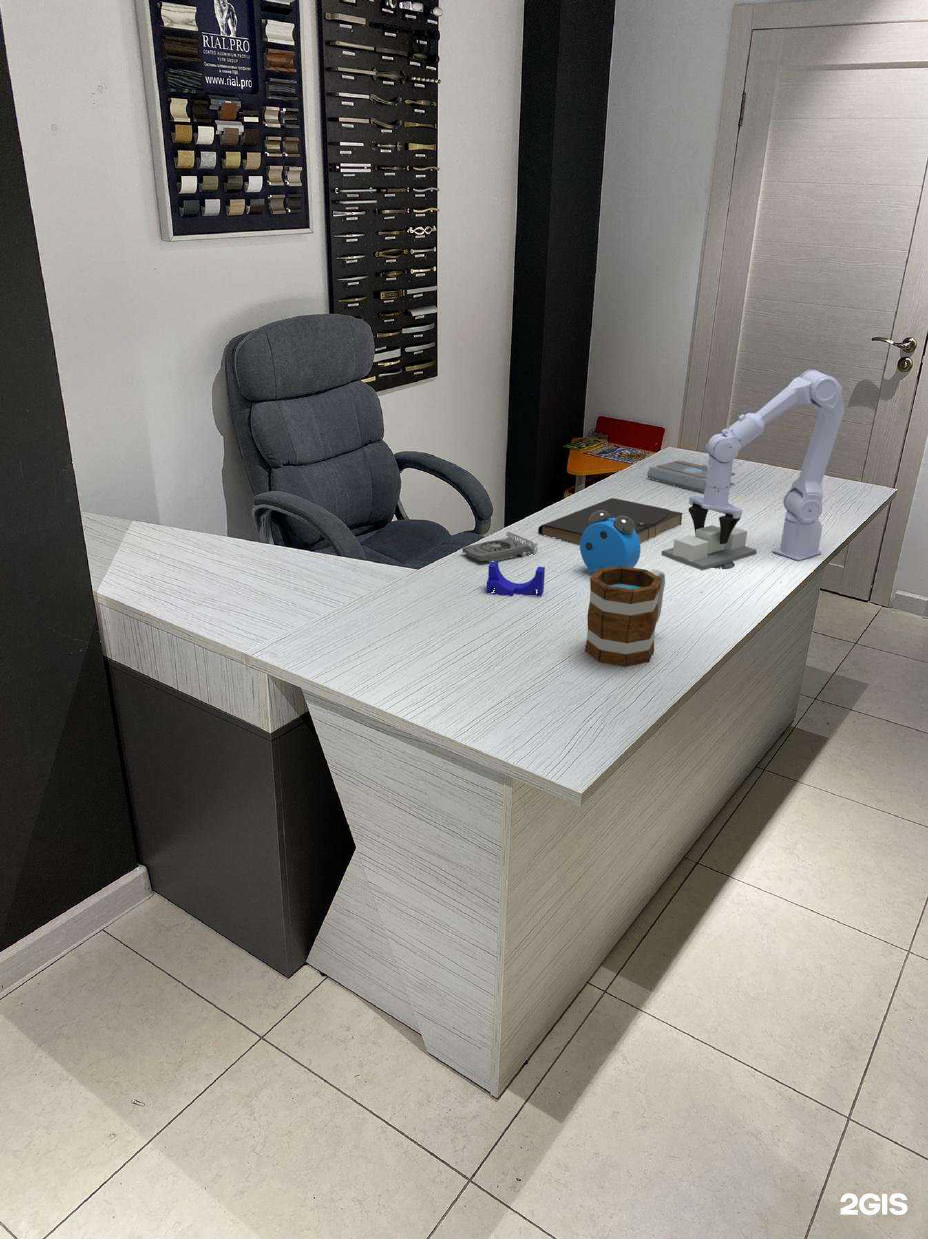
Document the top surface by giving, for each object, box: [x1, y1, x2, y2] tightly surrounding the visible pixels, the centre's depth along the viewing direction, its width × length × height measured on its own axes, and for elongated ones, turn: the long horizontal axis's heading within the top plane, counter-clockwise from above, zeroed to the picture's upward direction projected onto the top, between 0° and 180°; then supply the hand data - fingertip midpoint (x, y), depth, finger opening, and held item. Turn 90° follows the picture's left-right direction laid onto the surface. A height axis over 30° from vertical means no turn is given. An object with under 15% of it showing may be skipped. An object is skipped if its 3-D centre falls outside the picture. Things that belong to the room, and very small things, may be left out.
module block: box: [694, 524, 725, 554], centre depth 234 cm, size 6×4×5 cm
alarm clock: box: [579, 510, 641, 574], centre depth 218 cm, size 13×6×15 cm, turn 47°
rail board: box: [661, 545, 758, 571], centre depth 235 cm, size 20×13×1 cm, turn 127°
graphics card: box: [462, 531, 539, 563], centre depth 233 cm, size 17×4×12 cm
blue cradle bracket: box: [485, 561, 546, 598], centre depth 209 cm, size 12×4×6 cm, turn 76°
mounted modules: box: [672, 526, 748, 562], centre depth 234 cm, size 20×6×4 cm, turn 127°
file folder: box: [537, 497, 684, 546], centre depth 252 cm, size 33×4×24 cm
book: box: [646, 459, 736, 495], centre depth 295 cm, size 21×16×5 cm
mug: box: [584, 566, 666, 668], centre depth 183 cm, size 20×14×15 cm
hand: (711, 539), depth 234 cm, fingers open, 7 cm apart
